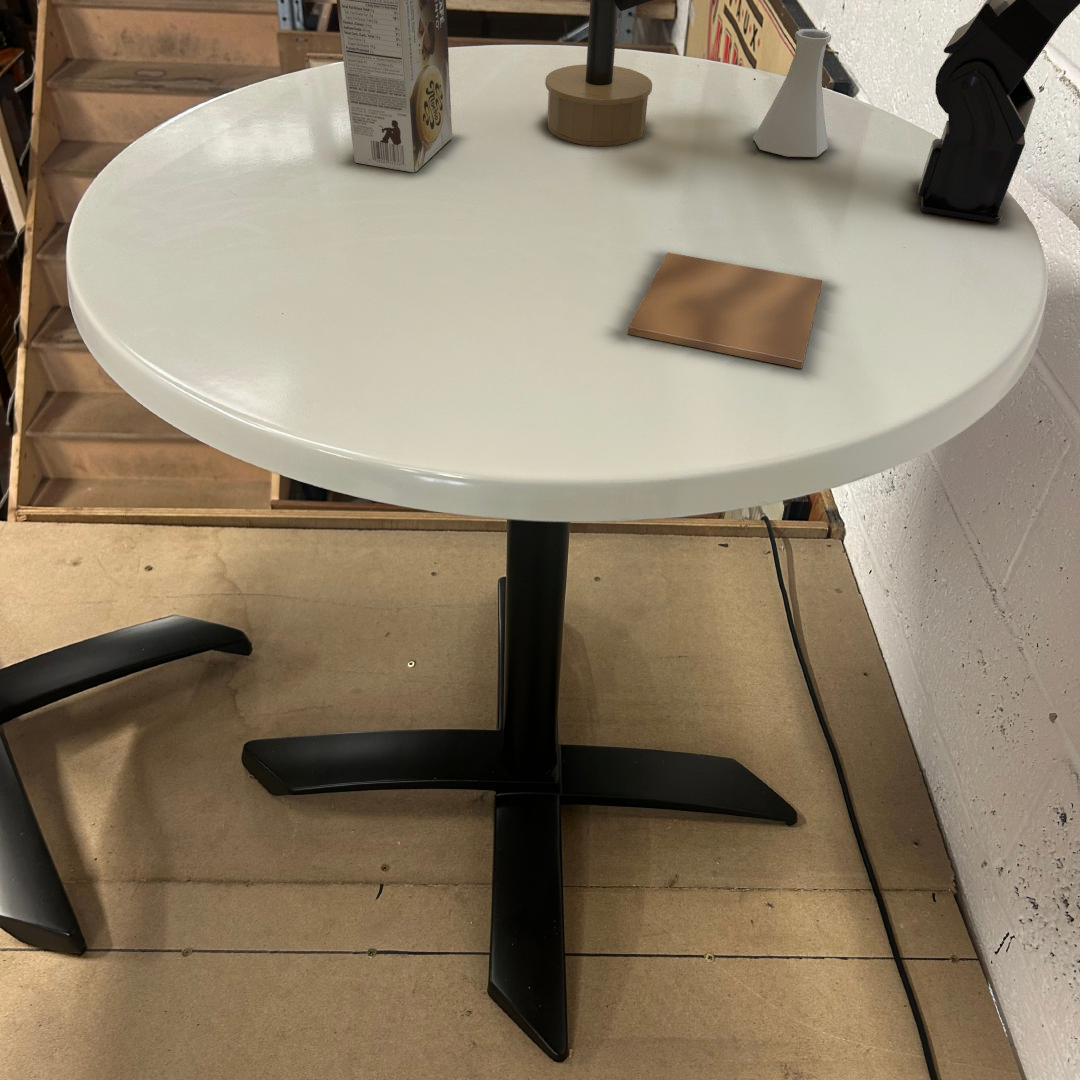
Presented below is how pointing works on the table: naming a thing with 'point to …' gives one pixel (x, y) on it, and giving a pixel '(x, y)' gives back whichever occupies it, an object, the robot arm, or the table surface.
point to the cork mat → (729, 309)
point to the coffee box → (396, 80)
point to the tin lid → (599, 67)
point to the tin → (596, 121)
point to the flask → (798, 103)
